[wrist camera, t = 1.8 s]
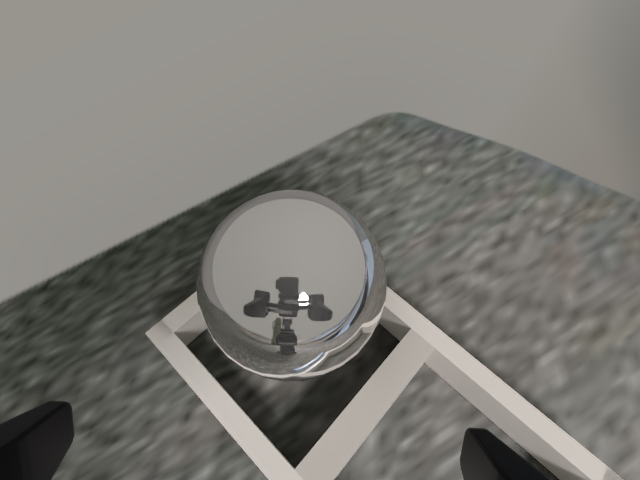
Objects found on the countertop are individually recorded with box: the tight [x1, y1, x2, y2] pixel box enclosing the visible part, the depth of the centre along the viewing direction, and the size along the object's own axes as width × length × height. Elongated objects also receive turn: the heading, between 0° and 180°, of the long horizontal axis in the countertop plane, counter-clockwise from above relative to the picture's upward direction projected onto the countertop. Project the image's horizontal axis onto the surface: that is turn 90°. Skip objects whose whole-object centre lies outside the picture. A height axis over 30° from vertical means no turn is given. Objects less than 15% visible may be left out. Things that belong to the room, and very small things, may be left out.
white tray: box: [145, 287, 623, 480], centre depth 18 cm, size 11×21×4 cm, turn 47°
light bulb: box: [196, 190, 387, 381], centre depth 16 cm, size 7×7×12 cm
